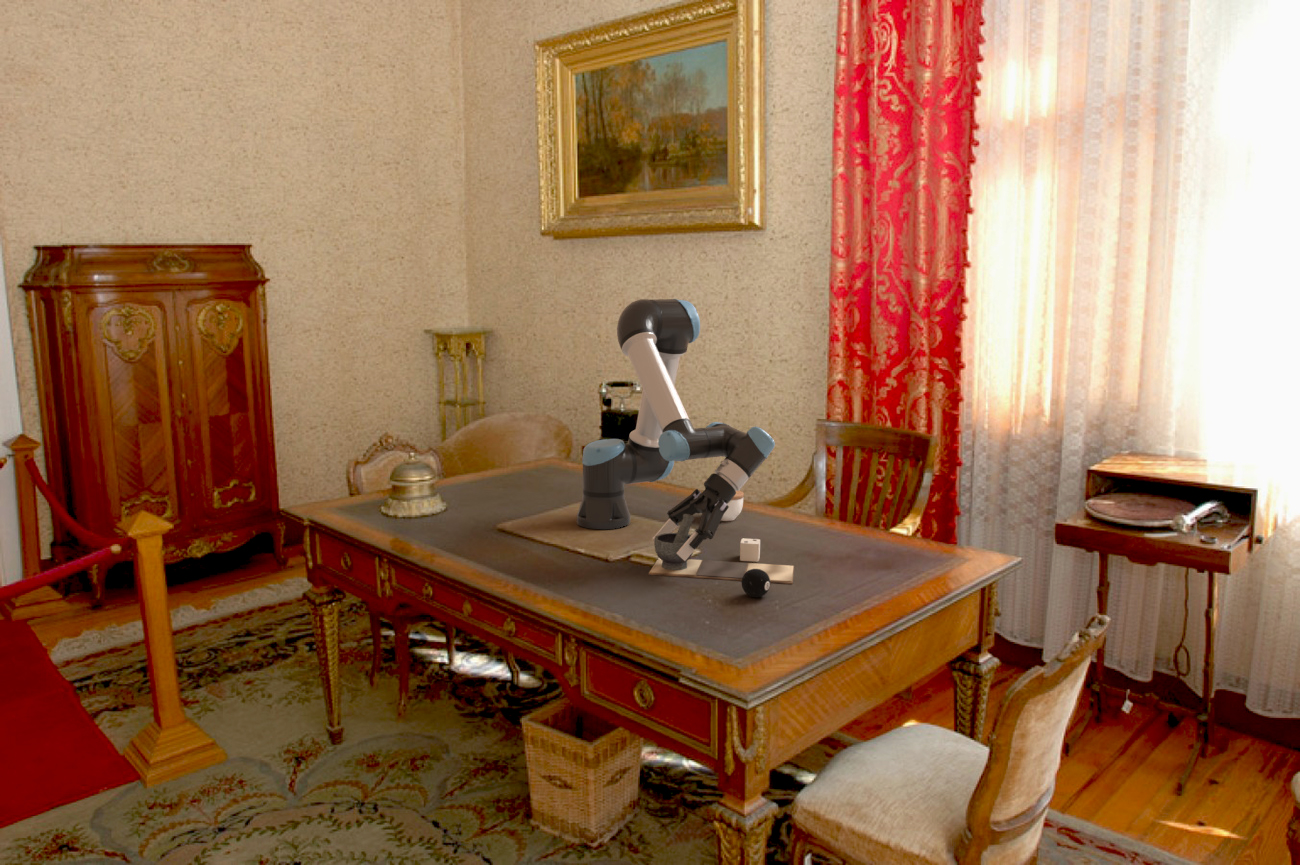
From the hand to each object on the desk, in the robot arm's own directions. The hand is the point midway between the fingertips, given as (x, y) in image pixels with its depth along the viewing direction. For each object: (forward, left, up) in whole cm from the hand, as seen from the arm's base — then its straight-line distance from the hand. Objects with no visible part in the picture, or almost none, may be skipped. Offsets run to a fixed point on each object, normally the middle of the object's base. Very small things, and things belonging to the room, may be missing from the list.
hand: (667, 549), depth 213 cm
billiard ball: (+22, -15, -5) cm, 27 cm away
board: (+13, +1, -5) cm, 14 cm away
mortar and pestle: (+2, +1, -4) cm, 5 cm away
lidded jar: (+8, +52, -5) cm, 53 cm away
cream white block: (+18, +13, -5) cm, 23 cm away
